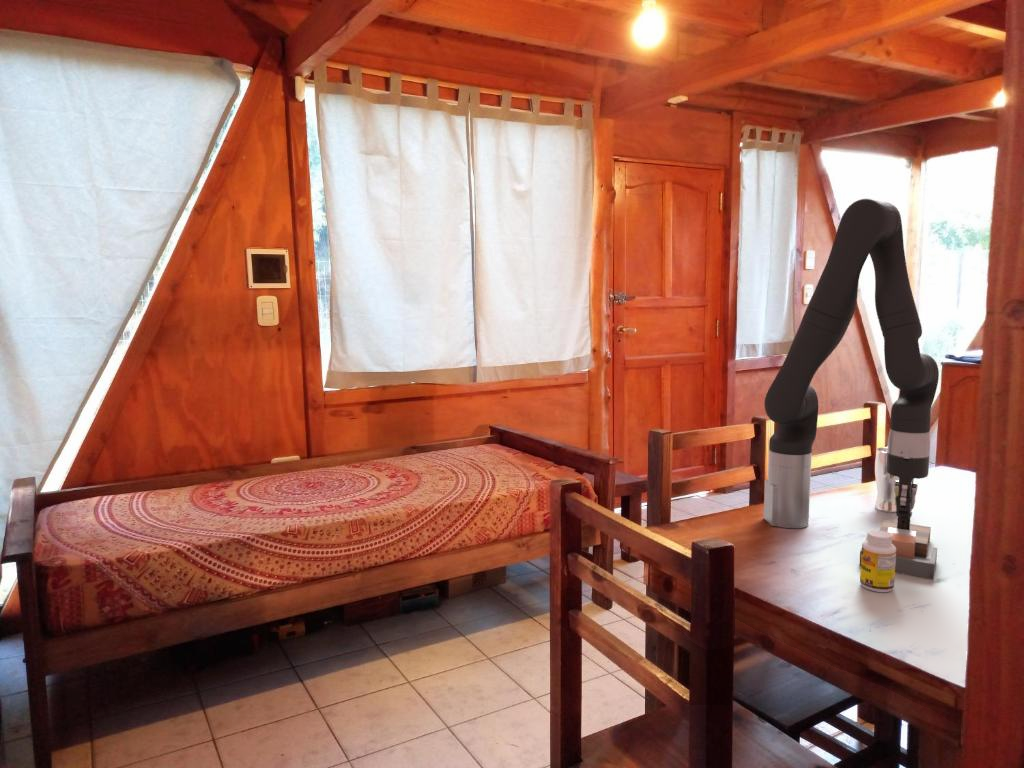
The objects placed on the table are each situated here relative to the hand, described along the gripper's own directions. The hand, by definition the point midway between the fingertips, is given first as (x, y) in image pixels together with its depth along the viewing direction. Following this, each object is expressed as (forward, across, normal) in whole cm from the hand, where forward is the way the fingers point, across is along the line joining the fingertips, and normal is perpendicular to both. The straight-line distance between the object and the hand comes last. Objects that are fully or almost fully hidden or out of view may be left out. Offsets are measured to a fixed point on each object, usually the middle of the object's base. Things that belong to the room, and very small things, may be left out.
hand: (903, 533), depth 144 cm
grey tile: (+2, +3, 0) cm, 4 cm away
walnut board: (+4, -5, 0) cm, 6 cm away
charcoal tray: (+4, +7, 0) cm, 8 cm away
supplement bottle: (+4, +21, -2) cm, 22 cm away
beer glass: (+4, -30, -5) cm, 31 cm away
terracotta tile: (0, +6, 0) cm, 6 cm away
